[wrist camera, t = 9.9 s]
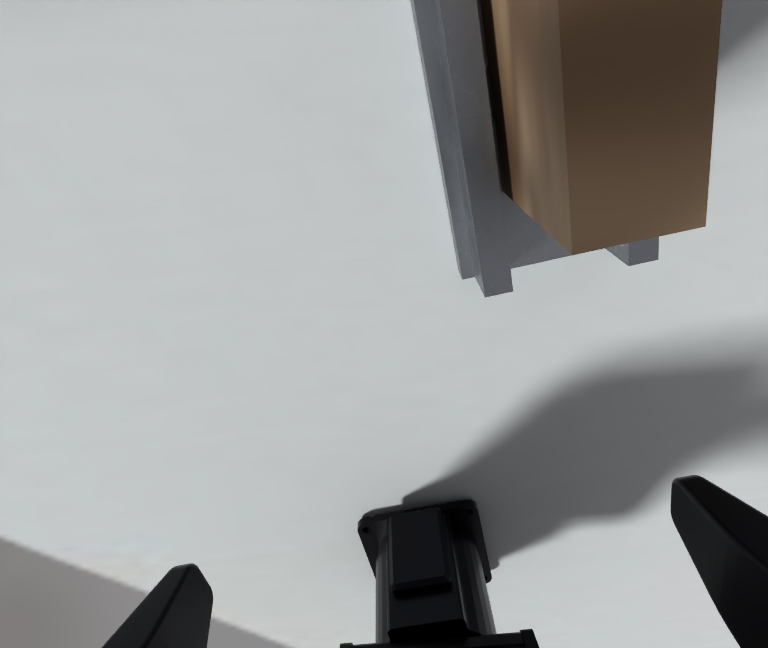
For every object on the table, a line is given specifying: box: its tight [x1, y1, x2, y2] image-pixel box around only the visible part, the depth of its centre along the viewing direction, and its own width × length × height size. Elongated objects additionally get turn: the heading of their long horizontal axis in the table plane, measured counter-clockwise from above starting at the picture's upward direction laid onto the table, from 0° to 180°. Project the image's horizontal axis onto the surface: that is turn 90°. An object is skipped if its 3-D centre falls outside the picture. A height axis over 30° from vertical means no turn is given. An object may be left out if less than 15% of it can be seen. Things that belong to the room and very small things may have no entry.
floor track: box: [411, 0, 659, 297], centre depth 14 cm, size 14×7×5 cm, turn 13°
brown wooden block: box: [481, 0, 722, 255], centre depth 12 cm, size 8×3×7 cm, turn 13°
